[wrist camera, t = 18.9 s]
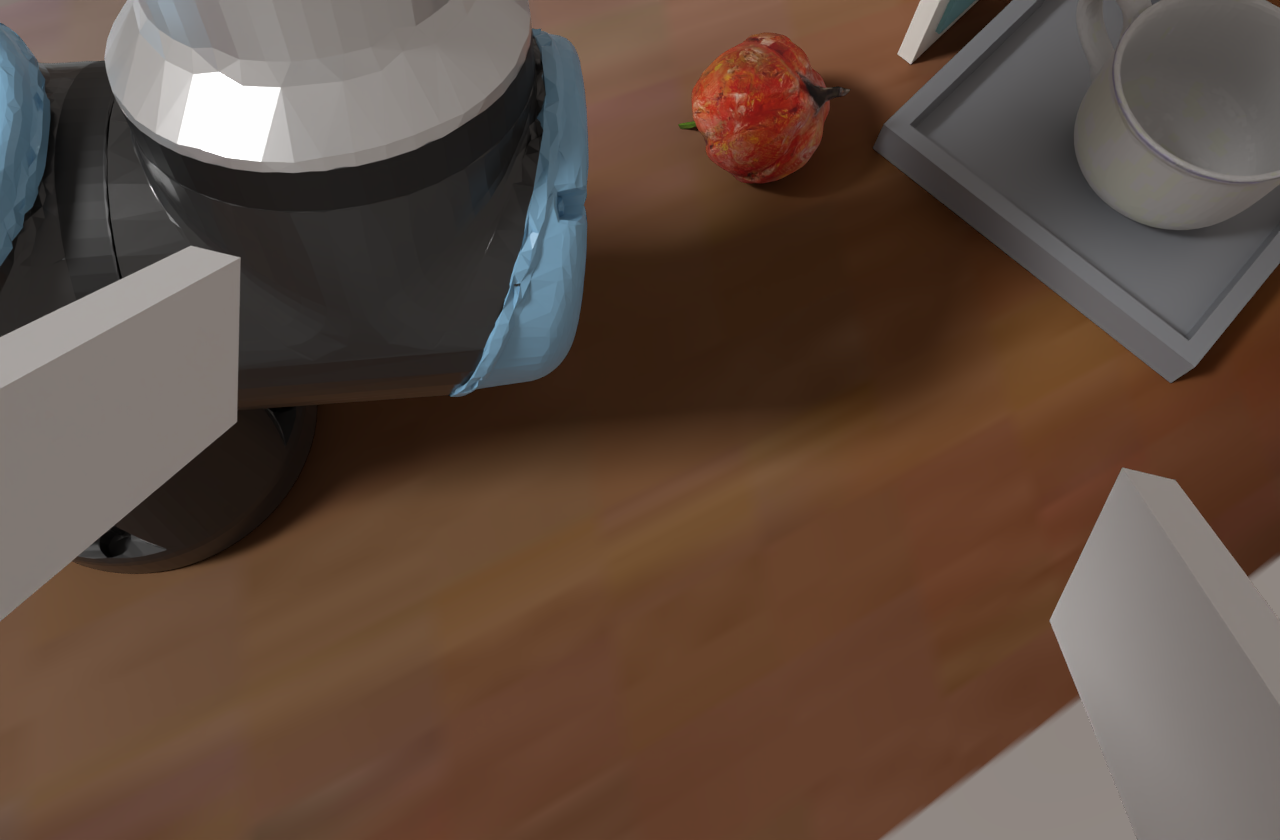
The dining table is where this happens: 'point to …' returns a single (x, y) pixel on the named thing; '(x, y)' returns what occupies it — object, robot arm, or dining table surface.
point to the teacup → (1181, 109)
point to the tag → (931, 25)
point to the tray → (1071, 191)
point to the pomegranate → (761, 108)
